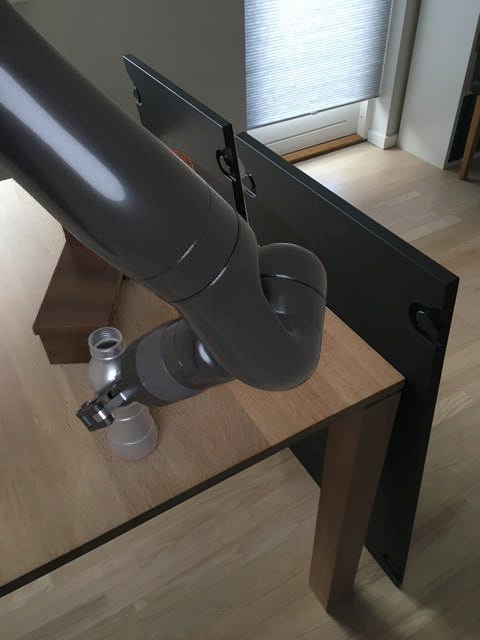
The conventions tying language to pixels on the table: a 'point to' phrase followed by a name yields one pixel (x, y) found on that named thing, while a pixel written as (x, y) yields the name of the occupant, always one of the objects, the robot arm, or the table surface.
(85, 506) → the table surface
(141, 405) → the plastic bottle
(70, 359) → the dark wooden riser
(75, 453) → the table surface
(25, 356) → the table surface
